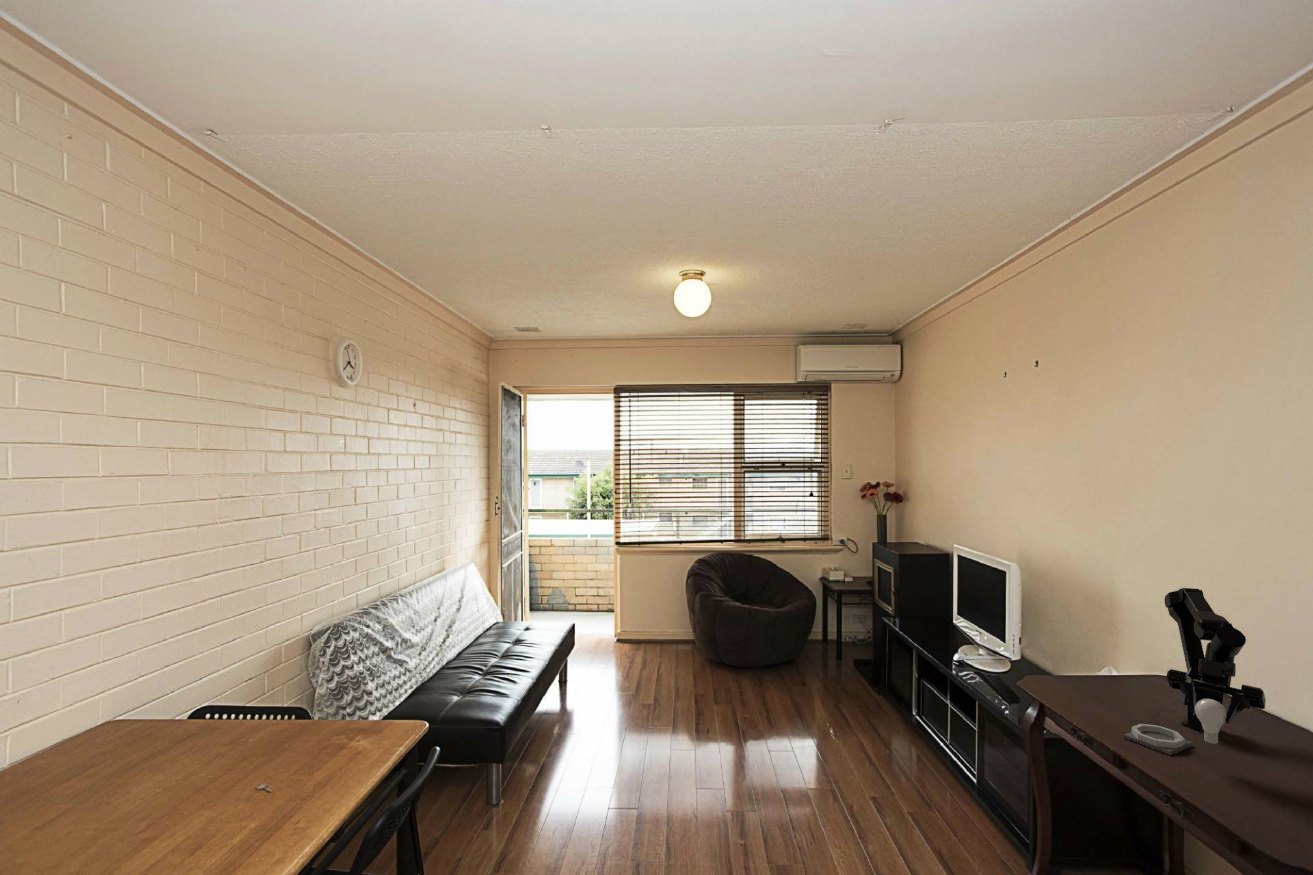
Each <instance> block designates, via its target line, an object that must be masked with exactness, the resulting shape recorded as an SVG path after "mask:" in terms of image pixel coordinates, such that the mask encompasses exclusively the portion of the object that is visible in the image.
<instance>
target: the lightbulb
mask: <svg viewBox="0 0 1313 875" xmlns="http://www.w3.org/2000/svg"><path fill="white" fill-rule="evenodd" d="M1194 710H1195V714H1196V716H1197V718H1198V719H1199V720H1200V722H1201V724H1202V727H1203V729H1204V731H1203V740H1204V741H1205V742H1207V743H1208V744H1210V745H1216V744H1218V743H1219V733H1220V731H1221V728H1222V726H1224V725H1225V724H1226V716H1227V712H1228V710H1227V709H1226V707H1225V706H1224V705H1223V703H1222V704H1221V703H1219V702H1218V701H1216V700H1213V699H1201V700H1199V701H1198V702H1197V703H1196V704H1195V708H1194Z"/></svg>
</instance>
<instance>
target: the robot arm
mask: <svg viewBox="0 0 1313 875" xmlns="http://www.w3.org/2000/svg"><path fill="white" fill-rule="evenodd" d="M1164 605H1165V608H1167V612H1168V615H1169V617H1171V618H1172V620H1174V621H1175V622H1176V623H1177V627H1178V630H1179V631H1178V632H1179V638H1180V641H1181V646H1182V650H1183V656H1184V662H1185V666H1186V671H1181V670H1178V669H1172V668H1171V669H1169V670H1167V672H1166V680H1167V683H1168V685H1169V688H1171V689H1174V690H1177V691H1178V692H1177V693H1178V700H1179V701H1180V702H1181V704H1182V705H1183V706H1186V719H1185V720H1183V721H1181V722H1180V724H1181V725H1183V726H1185V727H1190V728H1192V729H1195V730H1198V731H1201V732H1204V729H1203V727H1202V724H1201V722H1200V720H1199V719H1198V718H1197V716H1196V714H1195V710H1194V708H1195V704H1196V703H1197V702H1198V701H1199V700H1201V699H1213V700H1216V701H1218V702H1219V703H1221V704H1222V705H1223V702H1224V700H1223V699H1224V696H1225V695H1228V696H1230V697H1231V698H1230V703H1229V706H1228V710H1227V716H1226V722H1225V724H1227V725H1230V723H1231V722H1232V721H1233V720H1234V719H1235V718H1236V717H1237V716H1238V714H1239V713H1241V712H1242V711H1243V710H1245V709H1247V710H1250V709H1251V708H1256V709H1260V710H1264V709H1266V704H1267V703H1266V696H1265V691H1264V690H1263V689H1262V688H1261V687H1257V686H1253V685H1252V686H1251V685H1249V684H1248V685H1247V684H1243V683H1242V684H1241V687H1240V688H1237V687H1231V684H1232V683H1231V682H1232V677H1233V678H1235V677H1236V666H1237V665H1236V663H1235V657H1236V656H1238V654H1239V653H1240V651H1241V650H1242V649H1243V648H1244V646H1245V644H1246V642H1247V639H1246V636H1245V635H1244V634H1243V632H1242V631H1240V630H1239V629H1238V628H1236V627H1234V626H1233V623H1230V621H1229V620H1228V619H1226V618H1225V617H1224V616H1222V615H1219V614H1217V613H1215V612H1214V610H1213V608H1212V607H1211V605H1210V604H1209V602H1208V601H1207V599H1206V597H1205V595H1204V592H1203V590H1202V589H1200V588H1192V587H1190V588H1189V587H1181V588H1179V589H1178V590H1174V591H1169V592H1168V593H1167V594H1166V595H1165V596H1164ZM1202 641H1209V642H1208V643H1206V649H1205V653H1204V649H1203V643H1202Z"/></svg>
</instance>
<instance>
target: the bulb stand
mask: <svg viewBox="0 0 1313 875" xmlns="http://www.w3.org/2000/svg"><path fill="white" fill-rule="evenodd" d="M1124 738H1126V739H1125V740H1127V739H1128V740H1127V741H1130V740H1132V741H1134V742H1133V743H1135V742H1137V743H1136V744H1138V743H1139V744H1138V745H1140V744H1142V745H1141V746H1143V745H1145V746H1144V747H1146V746H1147V747H1146V748H1149V747H1150V748H1149V749H1152V750H1154V749H1156V750H1155V751H1157V750H1158V751H1157V752H1159V751H1161V752H1160V753H1162V752H1164V753H1163V754H1165V753H1167V754H1169V755H1168V756H1172V754H1173V753H1175V754H1178V753H1179V751H1180V752H1181V751H1184V750H1186V749H1188V748H1191V747H1193V742H1192V741H1190V740H1188V739H1186V738H1184V737H1183V736H1182V735H1181V734H1180V733H1179V732H1178V731H1176V730H1173V729H1170V728H1167V727H1163V726H1160V725H1158V724H1157V725H1155V724H1154V725H1153V724H1146V723H1138V724H1135V725H1134V726H1131V731H1130V732H1127V733H1125V734H1123V739H1124ZM1132 741H1131V742H1132ZM1167 754H1166V755H1167ZM1173 755H1174V754H1173Z"/></svg>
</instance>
